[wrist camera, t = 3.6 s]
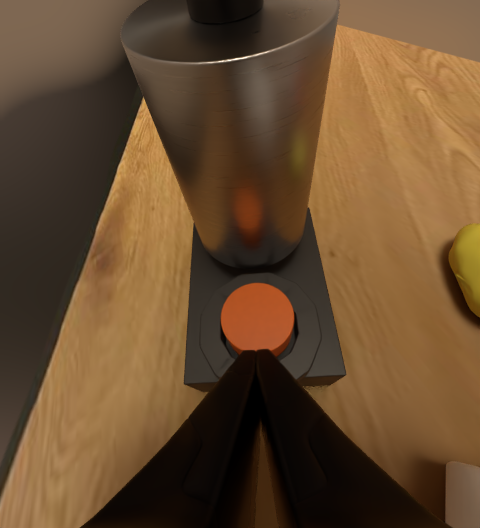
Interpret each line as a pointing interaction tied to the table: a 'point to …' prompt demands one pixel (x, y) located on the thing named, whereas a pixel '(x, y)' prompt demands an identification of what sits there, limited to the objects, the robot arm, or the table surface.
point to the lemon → (467, 264)
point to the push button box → (297, 291)
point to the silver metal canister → (237, 112)
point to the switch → (258, 318)
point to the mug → (462, 495)
